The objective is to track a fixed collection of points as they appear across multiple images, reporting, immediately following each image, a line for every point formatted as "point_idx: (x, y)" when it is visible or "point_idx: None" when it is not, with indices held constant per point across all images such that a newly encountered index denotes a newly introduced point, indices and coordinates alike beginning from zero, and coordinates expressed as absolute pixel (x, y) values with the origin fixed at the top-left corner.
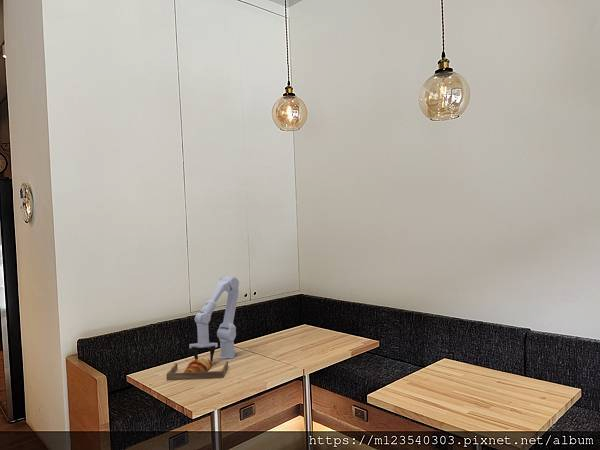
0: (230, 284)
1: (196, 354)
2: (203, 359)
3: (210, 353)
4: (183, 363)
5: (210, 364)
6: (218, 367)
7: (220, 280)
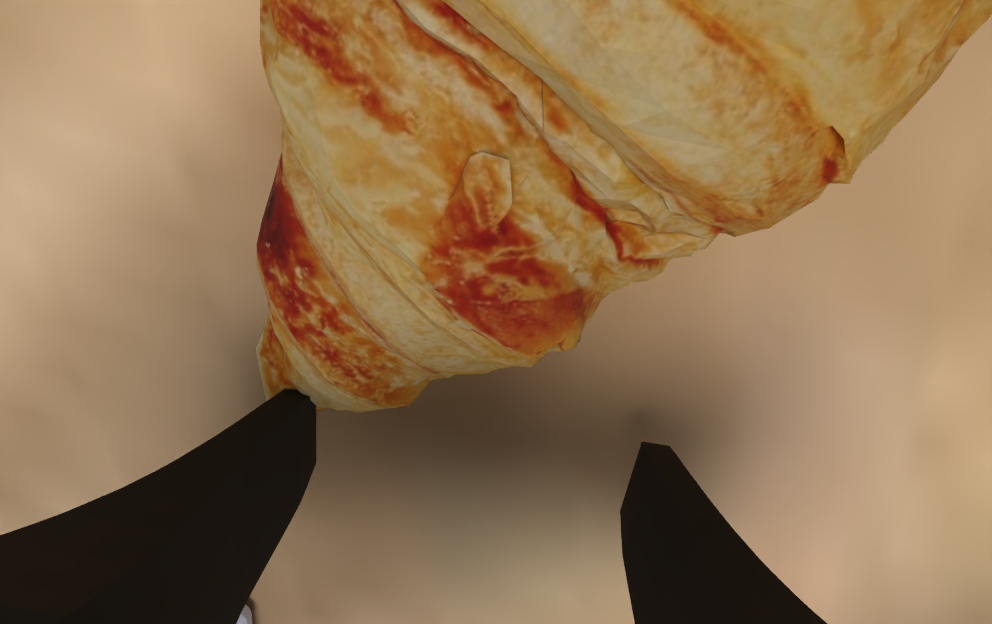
0: None
1: (690, 615)
2: (435, 256)
3: (181, 513)
4: (894, 579)
5: (274, 182)
6: (111, 123)
7: None
